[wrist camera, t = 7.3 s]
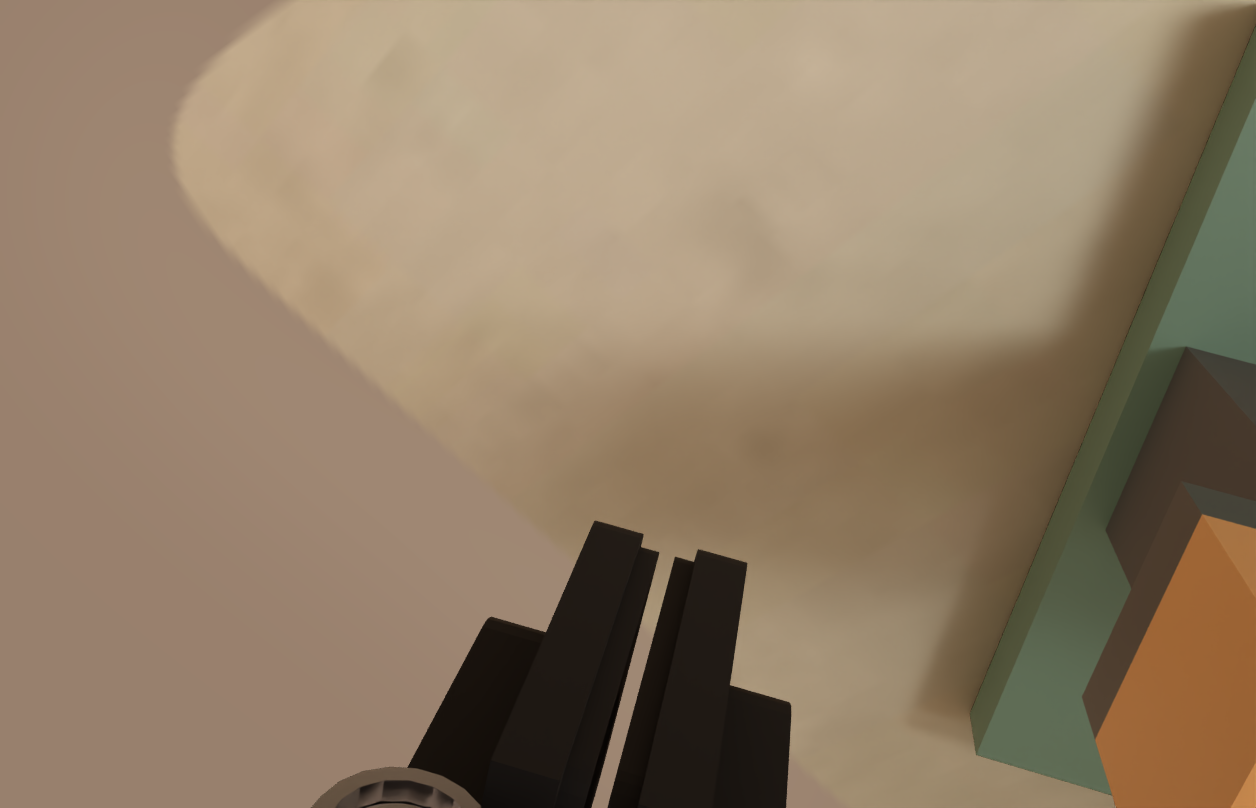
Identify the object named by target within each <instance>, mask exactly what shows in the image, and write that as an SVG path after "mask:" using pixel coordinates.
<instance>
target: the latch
mask: <svg viewBox="0 0 1256 808" xmlns="http://www.w3.org/2000/svg"><path fill="white" fill-rule="evenodd" d="M1082 700H1083V703H1084V706H1085V709H1086V712H1087V716H1088V719H1089V722H1090V725H1091V729H1092V732H1093V735H1094V738H1095V741H1096V745H1097V748H1098V751H1099V754H1100V757H1101V761H1102V764H1103V767H1104V770H1105V774H1106V777H1107V780H1108V783H1109V786H1110V790H1111V793H1112V796H1113V799H1114V802H1115V806H1116V808H1256V501H1253V500H1249V499H1245V498H1242V497H1238V496H1234V495H1231V494H1227V493H1223V492H1220V491H1216V490H1212V489H1209V488H1205V487H1201V486H1197V485H1194V484H1190V483H1186V482H1183V481H1181V482H1180V484H1179V487H1178V489H1177V491H1176V493H1175V495H1174V497H1173V500H1172V502H1171V504H1170V506H1169V508H1168V510H1167V513H1166V515H1165V517H1164V519H1163V521H1162V523H1161V526H1160V528H1159V530H1158V532H1157V534H1156V537H1155V539H1154V541H1153V543H1152V545H1151V547H1150V550H1149V552H1148V554H1147V556H1146V558H1145V560H1144V563H1143V565H1142V567H1141V569H1140V571H1139V573H1138V576H1137V578H1136V580H1135V582H1134V584H1133V586H1132V589H1131V591H1130V593H1129V595H1128V597H1127V600H1126V602H1125V604H1124V606H1123V608H1122V610H1121V613H1120V615H1119V617H1118V619H1117V621H1116V623H1115V626H1114V628H1113V630H1112V632H1111V634H1110V636H1109V639H1108V641H1107V643H1106V645H1105V647H1104V649H1103V652H1102V654H1101V656H1100V658H1099V660H1098V663H1097V665H1096V667H1095V669H1094V671H1093V673H1092V676H1091V678H1090V680H1089V682H1088V684H1087V686H1086V689H1085V691H1084V693H1083V695H1082Z"/></svg>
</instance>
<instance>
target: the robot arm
mask: <svg viewBox="0 0 1256 808" xmlns="http://www.w3.org/2000/svg"><path fill="white" fill-rule="evenodd" d="M643 535H644V534H642V533H638V532H634V531H631V530H627V529H624V528H620V527H616V526H613V525H609V524H606V523H602V522H598V521H594V523H593V525H592V527H591V530H590V532H589V534H588V537H587V539H586V541H585V544H584V546H583V548H582V550H581V553H580V555H579V557H578V560H577V562H576V564H575V567H574V569H573V571H572V574H571V576H570V578H569V581H568V583H567V585H566V587H565V590H564V592H563V594H562V597H561V599H560V601H559V604H558V606H557V608H556V611H555V613H554V615H553V617H552V620H551V622H550V624H549V627H548V629H547V631H546V632H543V631H539V630H535V629H532V628H529V627H525V626H521V625H518V624H515V623H511V622H508V621H504V620H501V619H497V618H494V617H490V618H488V619H487V621H486V622H485V624H484V625H483V627H482V629H481V631H480V632H479V634H478V636H477V638H476V640H475V642H474V644H473V646H472V647H471V649H470V651H469V653H468V655H467V657H466V659H465V661H464V662H463V664H462V666H461V668H460V670H459V672H458V674H457V676H456V678H455V679H454V681H453V683H452V685H451V687H450V689H449V691H448V692H447V694H446V696H445V698H444V700H443V702H442V704H441V706H440V708H439V709H438V711H437V713H436V715H435V717H434V719H433V721H432V722H431V724H430V726H429V728H428V730H427V732H426V734H425V736H424V737H423V739H422V741H421V743H420V745H419V747H418V749H417V751H416V753H415V754H414V756H413V758H412V760H411V762H410V764H409V766H408V767H407V768H401V767H385V768H380V769H373V770H367V771H362V772H360V773H358V774H355V775H353V776H350V777H348V778H346V779H343V780H341V781H339V782H338V783H337V784H335V785H334V786H333V787H332V788H331V789H329V790H328V791H327V792H326V793H324V794H323V795H322V796H321V797H320V798H319V799H318V800H317V801H316V802H315V804H314V805H313V806H312V807H311V808H591V807H592V803H593V800H594V797H595V793H596V790H597V786H598V783H599V779H600V776H601V772H602V768H603V765H604V761H605V757H606V754H607V750H608V746H609V742H610V739H611V735H612V731H613V727H614V723H615V719H616V716H617V712H618V708H619V704H620V701H621V697H622V693H623V689H624V685H625V682H626V677H627V674H628V670H629V666H630V663H631V658H632V655H633V651H634V647H635V643H636V639H637V636H638V632H639V628H640V625H641V621H642V617H643V613H644V609H645V606H646V602H647V598H648V594H649V590H650V587H651V583H652V579H653V575H654V571H655V568H656V564H657V560H658V556H659V552H656V551H653V550H649V549H645V548H642V547H641V544H642V540H643ZM746 570H747V563H746V562H742V561H739V560H735V559H731V558H728V557H724V556H721V555H717V554H713V553H710V552H706V551H703V550H699V549H698V551H697V554H696V557H695V561H694V562H692V561H688V560H685V559H681V558H678V557H675V559H674V563H673V567H672V570H671V574H670V578H669V581H668V585H667V589H666V593H665V596H664V600H663V604H662V607H661V611H660V615H659V618H658V622H657V626H656V630H655V633H654V637H653V641H652V644H651V649H650V652H649V656H648V659H647V663H646V667H645V671H644V674H643V678H642V681H641V685H640V689H639V693H638V696H637V700H636V704H635V707H634V711H633V715H632V719H631V722H630V726H629V730H628V733H627V737H626V741H625V745H624V748H623V752H622V756H621V759H620V763H619V767H618V770H617V774H616V778H615V782H614V786H613V789H612V793H611V796H610V800H609V805H608V808H786V799H787V798H786V797H787V780H788V763H789V746H790V728H791V705H790V703H789V702H786V701H783V700H779V699H776V698H773V697H769V696H766V695H762V694H759V693H755V692H752V691H748V690H745V689H741V688H738V687H734V686H731V685H730V680H731V673H732V667H733V660H734V653H735V646H736V639H737V632H738V625H739V618H740V611H741V604H742V598H743V591H744V584H745V577H746Z"/></svg>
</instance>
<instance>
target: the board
mask: <svg viewBox="0 0 1256 808" xmlns="http://www.w3.org/2000/svg"><path fill="white" fill-rule="evenodd" d="M1181 481H1183V482H1186V483H1190V484H1194V485H1197V486H1201V487H1205V488H1209V489H1212V490H1216V491H1220V492H1223V493H1227V494H1231V495H1234V496H1238V497H1242V498H1245V499H1249V500H1253V501H1256V26H1255V29H1254V31H1253V33H1252V36H1251V38H1250V41H1249V43H1248V45H1247V48H1246V50H1245V53H1244V55H1243V57H1242V60H1241V62H1240V65H1239V67H1238V69H1237V72H1236V74H1235V77H1234V79H1233V81H1232V84H1231V86H1230V89H1229V91H1228V94H1227V96H1226V98H1225V101H1224V103H1223V106H1222V108H1221V110H1220V113H1219V115H1218V118H1217V120H1216V122H1215V125H1214V127H1213V130H1212V132H1211V134H1210V137H1209V139H1208V142H1207V144H1206V147H1205V149H1204V151H1203V154H1202V156H1201V159H1200V161H1199V163H1198V166H1197V168H1196V171H1195V173H1194V175H1193V178H1192V180H1191V183H1190V185H1189V187H1188V190H1187V192H1186V195H1185V197H1184V199H1183V202H1182V204H1181V207H1180V209H1179V212H1178V214H1177V216H1176V219H1175V221H1174V224H1173V226H1172V228H1171V231H1170V233H1169V236H1168V238H1167V240H1166V243H1165V245H1164V248H1163V250H1162V252H1161V255H1160V257H1159V260H1158V262H1157V264H1156V267H1155V269H1154V272H1153V274H1152V277H1151V279H1150V281H1149V284H1148V286H1147V289H1146V291H1145V293H1144V296H1143V298H1142V301H1141V303H1140V305H1139V308H1138V310H1137V313H1136V315H1135V317H1134V320H1133V322H1132V325H1131V327H1130V329H1129V332H1128V334H1127V337H1126V339H1125V342H1124V344H1123V346H1122V349H1121V351H1120V354H1119V356H1118V358H1117V361H1116V363H1115V366H1114V368H1113V370H1112V373H1111V375H1110V378H1109V380H1108V382H1107V385H1106V387H1105V390H1104V392H1103V394H1102V397H1101V399H1100V402H1099V404H1098V407H1097V409H1096V411H1095V414H1094V416H1093V419H1092V421H1091V423H1090V426H1089V428H1088V431H1087V433H1086V435H1085V438H1084V440H1083V443H1082V445H1081V447H1080V450H1079V452H1078V455H1077V457H1076V460H1075V462H1074V464H1073V467H1072V469H1071V472H1070V474H1069V476H1068V479H1067V481H1066V484H1065V486H1064V488H1063V491H1062V493H1061V496H1060V498H1059V500H1058V503H1057V505H1056V508H1055V510H1054V512H1053V515H1052V517H1051V520H1050V522H1049V525H1048V527H1047V529H1046V532H1045V534H1044V537H1043V539H1042V541H1041V544H1040V546H1039V549H1038V551H1037V553H1036V556H1035V558H1034V561H1033V563H1032V565H1031V568H1030V570H1029V573H1028V575H1027V577H1026V580H1025V582H1024V585H1023V587H1022V590H1021V592H1020V594H1019V597H1018V599H1017V602H1016V604H1015V606H1014V609H1013V611H1012V614H1011V616H1010V618H1009V621H1008V623H1007V626H1006V628H1005V630H1004V633H1003V635H1002V638H1001V640H1000V642H999V645H998V647H997V650H996V652H995V655H994V657H993V659H992V662H991V664H990V667H989V669H988V671H987V674H986V676H985V679H984V681H983V683H982V686H981V688H980V691H979V693H978V695H977V698H976V700H975V703H974V705H973V707H972V710H971V712H970V718H971V725H972V731H973V738H974V744H975V751H976V755H978V756H981V757H985V758H988V759H991V760H995V761H998V762H1002V763H1005V764H1008V765H1012V766H1015V767H1018V768H1022V769H1025V770H1028V771H1032V772H1035V773H1039V774H1042V775H1045V776H1049V777H1052V778H1055V779H1059V780H1062V781H1065V782H1069V783H1072V784H1076V785H1079V786H1082V787H1086V788H1089V789H1092V790H1096V791H1099V792H1102V793H1106V794H1109V795H1112V793H1111V790H1110V786H1109V783H1108V780H1107V777H1106V774H1105V770H1104V767H1103V764H1102V761H1101V757H1100V754H1099V751H1098V748H1097V745H1096V741H1095V738H1094V735H1093V732H1092V729H1091V725H1090V722H1089V719H1088V716H1087V712H1086V709H1085V706H1084V703H1083V700H1082V695H1083V693H1084V691H1085V689H1086V686H1087V684H1088V682H1089V680H1090V678H1091V676H1092V673H1093V671H1094V669H1095V667H1096V665H1097V663H1098V660H1099V658H1100V656H1101V654H1102V652H1103V649H1104V647H1105V645H1106V643H1107V641H1108V639H1109V636H1110V634H1111V632H1112V630H1113V628H1114V626H1115V623H1116V621H1117V619H1118V617H1119V615H1120V613H1121V610H1122V608H1123V606H1124V604H1125V602H1126V600H1127V597H1128V595H1129V593H1130V591H1131V589H1132V586H1133V584H1134V582H1135V580H1136V578H1137V576H1138V573H1139V571H1140V569H1141V567H1142V565H1143V563H1144V560H1145V558H1146V556H1147V554H1148V552H1149V550H1150V547H1151V545H1152V543H1153V541H1154V539H1155V537H1156V534H1157V532H1158V530H1159V528H1160V526H1161V523H1162V521H1163V519H1164V517H1165V515H1166V513H1167V510H1168V508H1169V506H1170V504H1171V502H1172V500H1173V497H1174V495H1175V493H1176V491H1177V489H1178V487H1179V484H1180V482H1181Z"/></svg>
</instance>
